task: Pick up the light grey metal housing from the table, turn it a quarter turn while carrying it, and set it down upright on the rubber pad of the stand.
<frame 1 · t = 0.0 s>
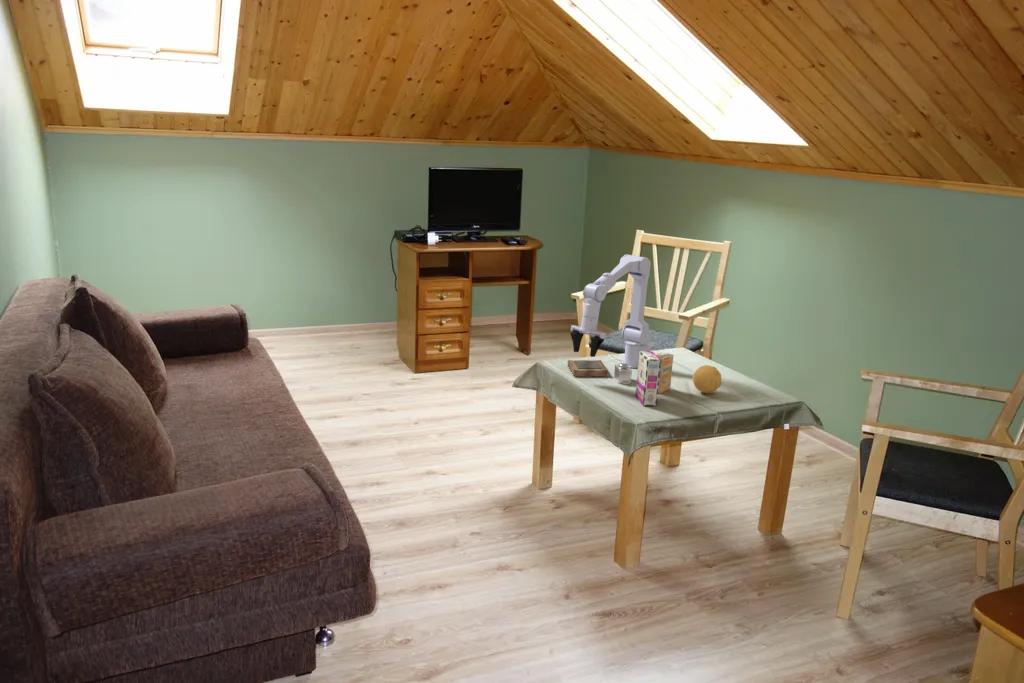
hand: (584, 354, 288), 11 cm above the table, tool pointing down, fingers open, 7 cm apart
housing: (622, 380, 293), on the table
stand: (587, 371, 303), on the table
candy bar box: (646, 401, 273), on the table
supplement box: (659, 390, 284), on the table
stress ball: (705, 393, 283), on the table
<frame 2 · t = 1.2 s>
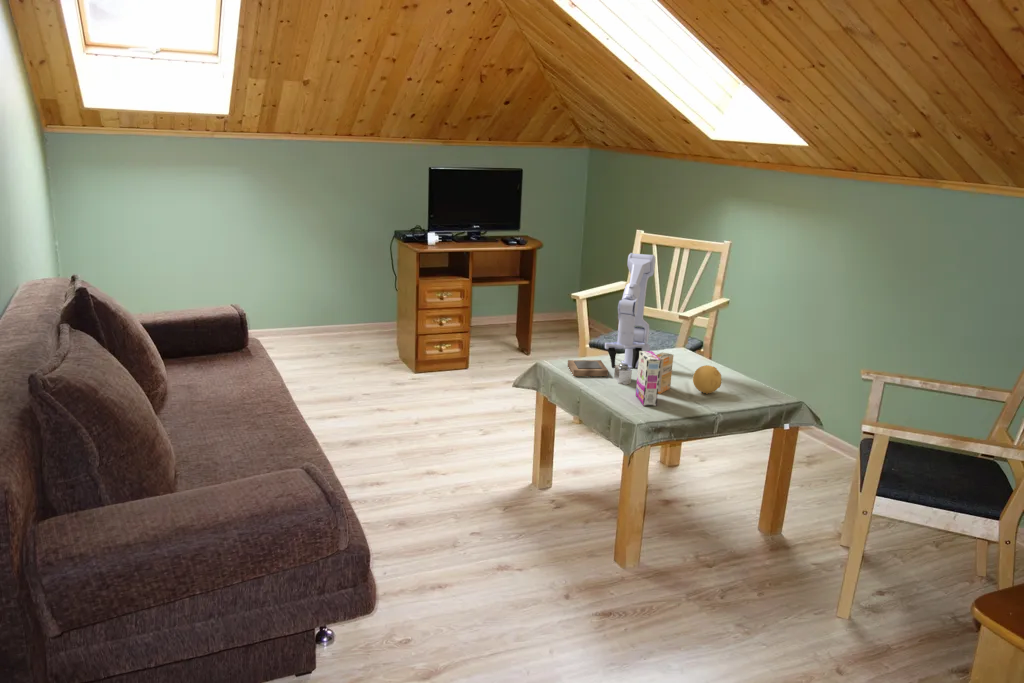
hand: (623, 367, 292), 5 cm above the table, tool pointing down, fingers open, 7 cm apart
nothing on the table moved.
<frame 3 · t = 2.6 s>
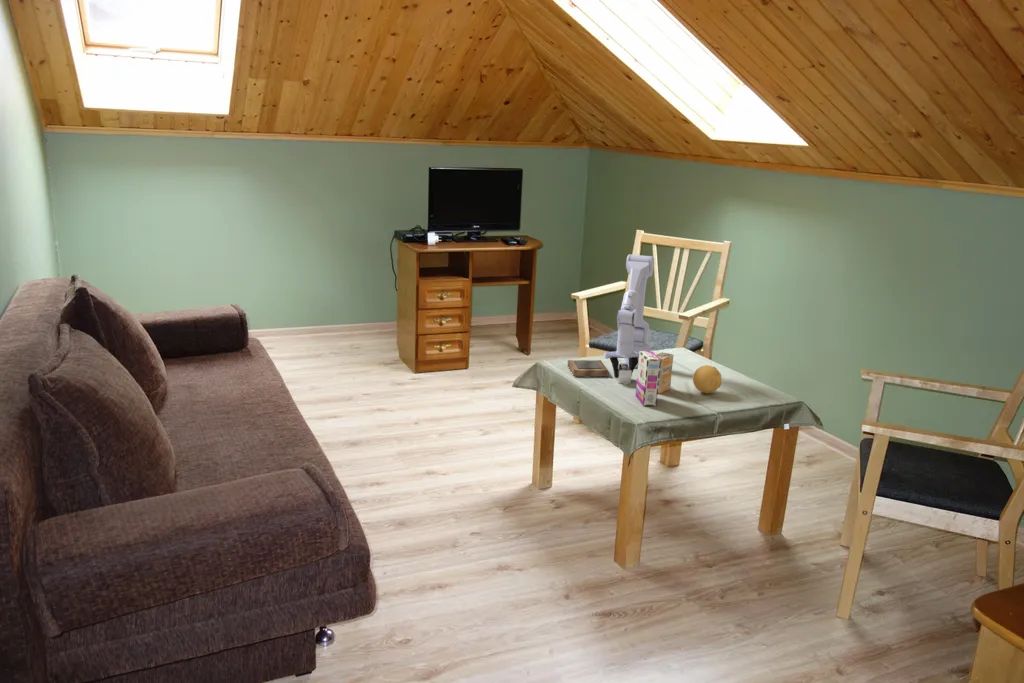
hand: (622, 376, 293), 1 cm above the table, tool pointing down, fingers closed on housing, 5 cm apart
housing: (622, 380, 293), on the table, touching gripper
everything else where it was.
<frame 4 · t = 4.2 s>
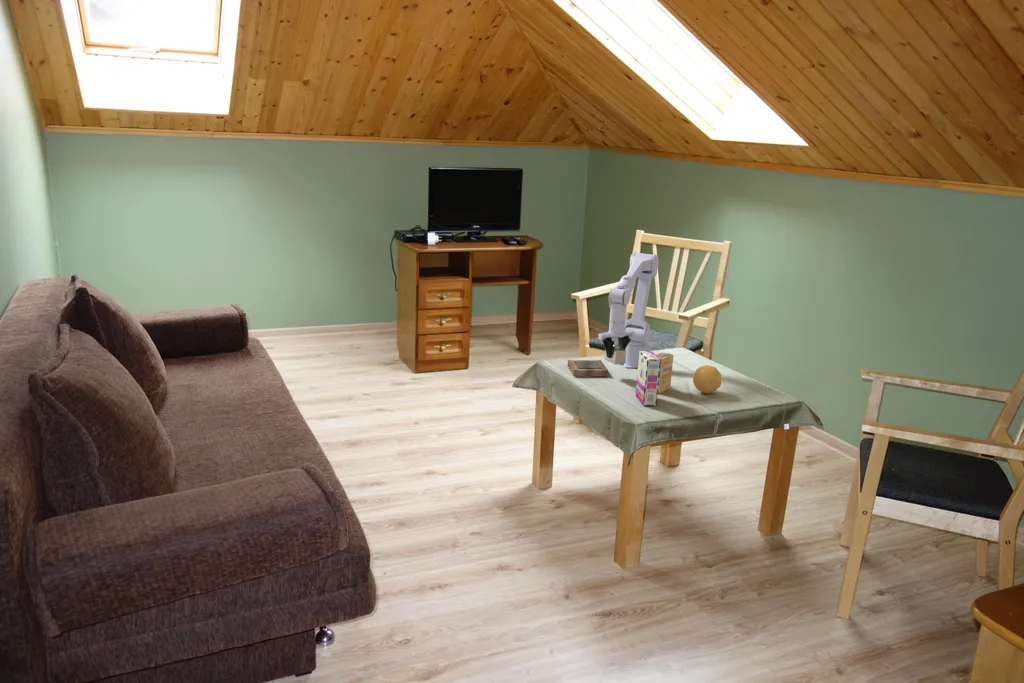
hand: (614, 356, 294), 8 cm above the table, tool pointing down, fingers closed on housing, 5 cm apart
housing: (614, 361, 294), point 7 cm above the table, touching gripper
everything else where it was.
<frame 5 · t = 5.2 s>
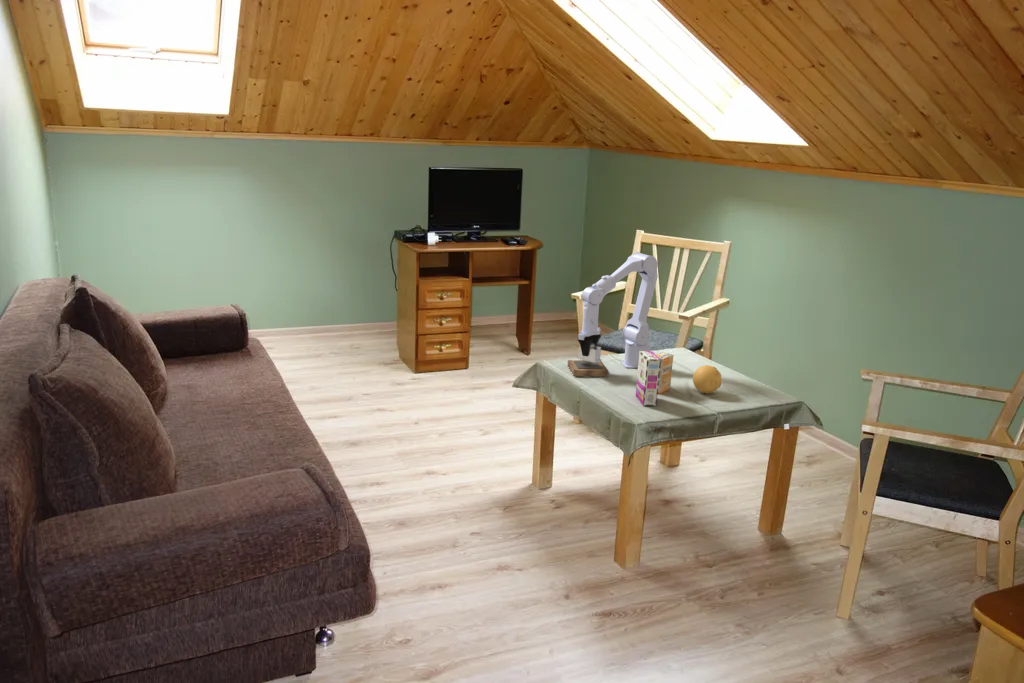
hand: (588, 354, 301), 7 cm above the table, tool pointing down, fingers closed on housing, 5 cm apart
housing: (589, 359, 301), point 5 cm above the table, touching gripper
everything else where it was.
when the fingers open (6 cm above the table, at t = 5.8 s): housing stays where it is, resting on stand.
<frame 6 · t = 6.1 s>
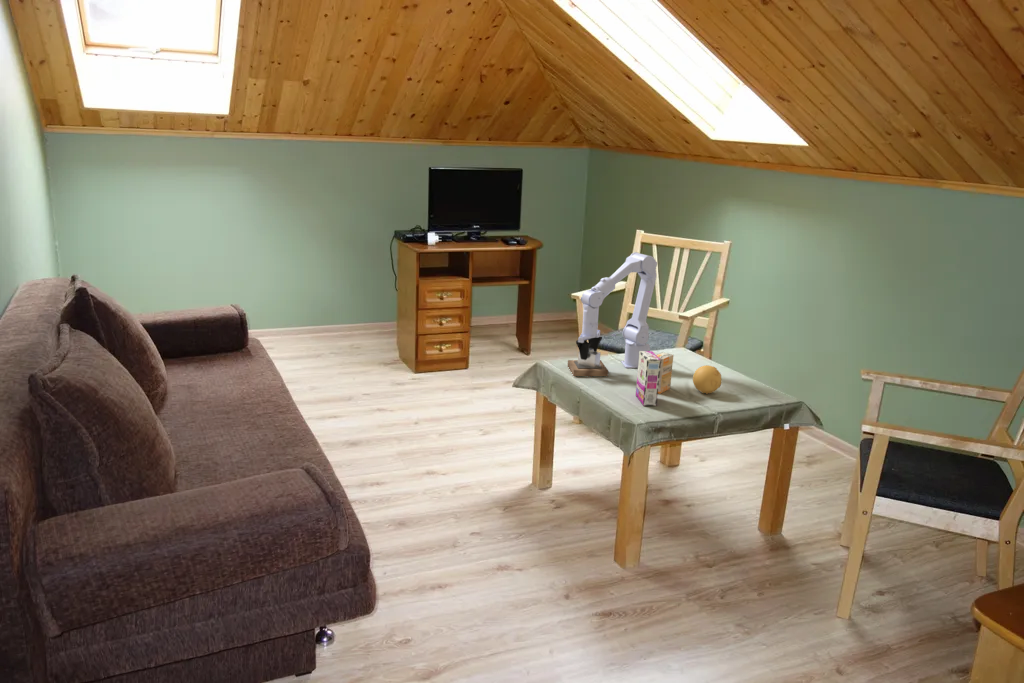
hand: (588, 357, 301), 6 cm above the table, tool pointing down, fingers open, 7 cm apart
housing: (588, 364, 302), point 3 cm above the table, touching stand
everything else where it was.
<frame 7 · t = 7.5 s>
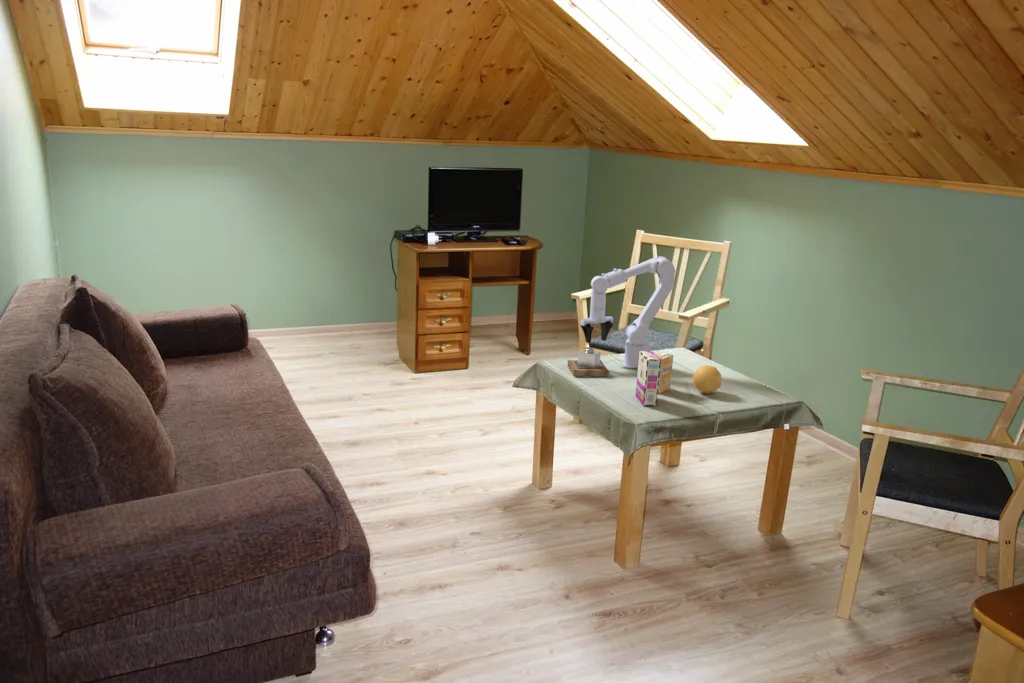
hand: (595, 341, 310), 9 cm above the table, tool pointing down, fingers open, 7 cm apart
nothing on the table moved.
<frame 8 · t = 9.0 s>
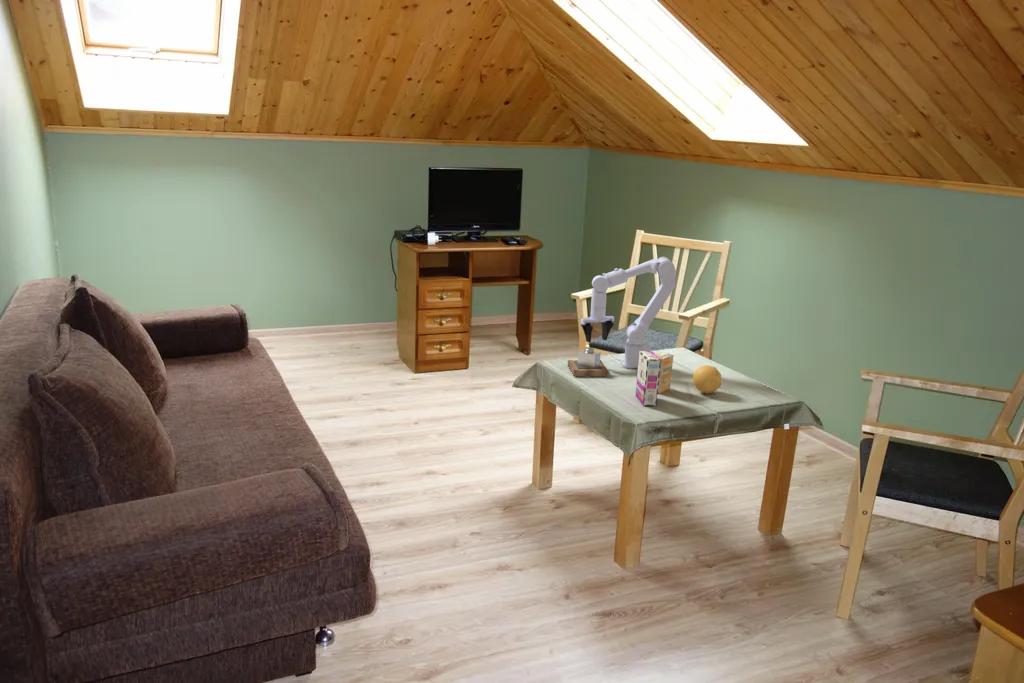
hand: (596, 340, 310), 9 cm above the table, tool pointing down, fingers open, 7 cm apart
nothing on the table moved.
at the end: housing inside the target area on the stand (0.4 cm from its centre), point 2.8 cm above the stand's base; housing tilted 0°; the gripper is holding nothing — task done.
